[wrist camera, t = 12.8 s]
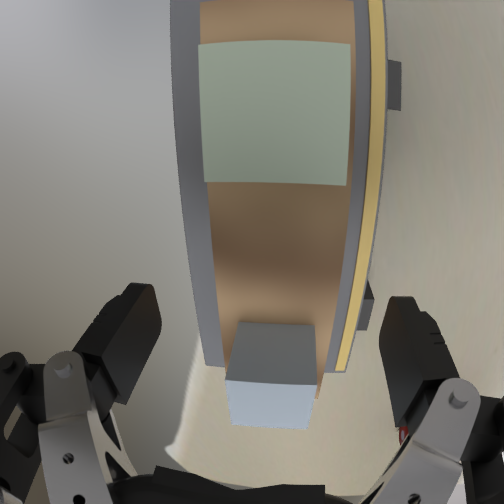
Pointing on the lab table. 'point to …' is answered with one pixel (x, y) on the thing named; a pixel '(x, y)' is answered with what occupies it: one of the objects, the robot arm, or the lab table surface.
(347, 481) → the lab table surface
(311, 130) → the block
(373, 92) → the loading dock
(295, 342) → the block
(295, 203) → the tan wooden bar
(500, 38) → the lab table surface
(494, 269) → the lab table surface
